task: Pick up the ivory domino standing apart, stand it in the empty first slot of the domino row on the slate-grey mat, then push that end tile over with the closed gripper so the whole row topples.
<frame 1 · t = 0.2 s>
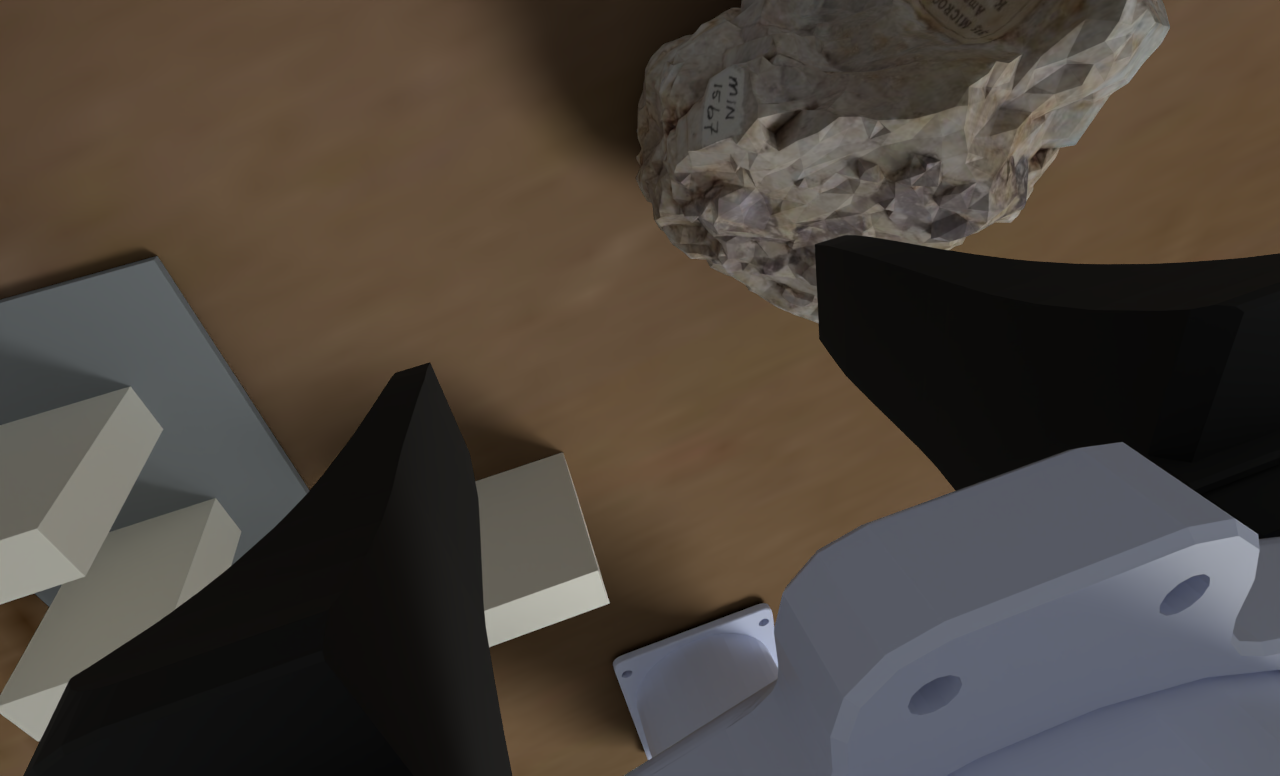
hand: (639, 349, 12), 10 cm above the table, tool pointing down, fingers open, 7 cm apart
domino 3: (166, 535, 22), resting on mat
rock: (756, 85, 21), on the table
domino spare: (517, 485, 26), on the table
domino 4: (76, 429, 20), resting on mat
mat: (240, 612, 25), on the table
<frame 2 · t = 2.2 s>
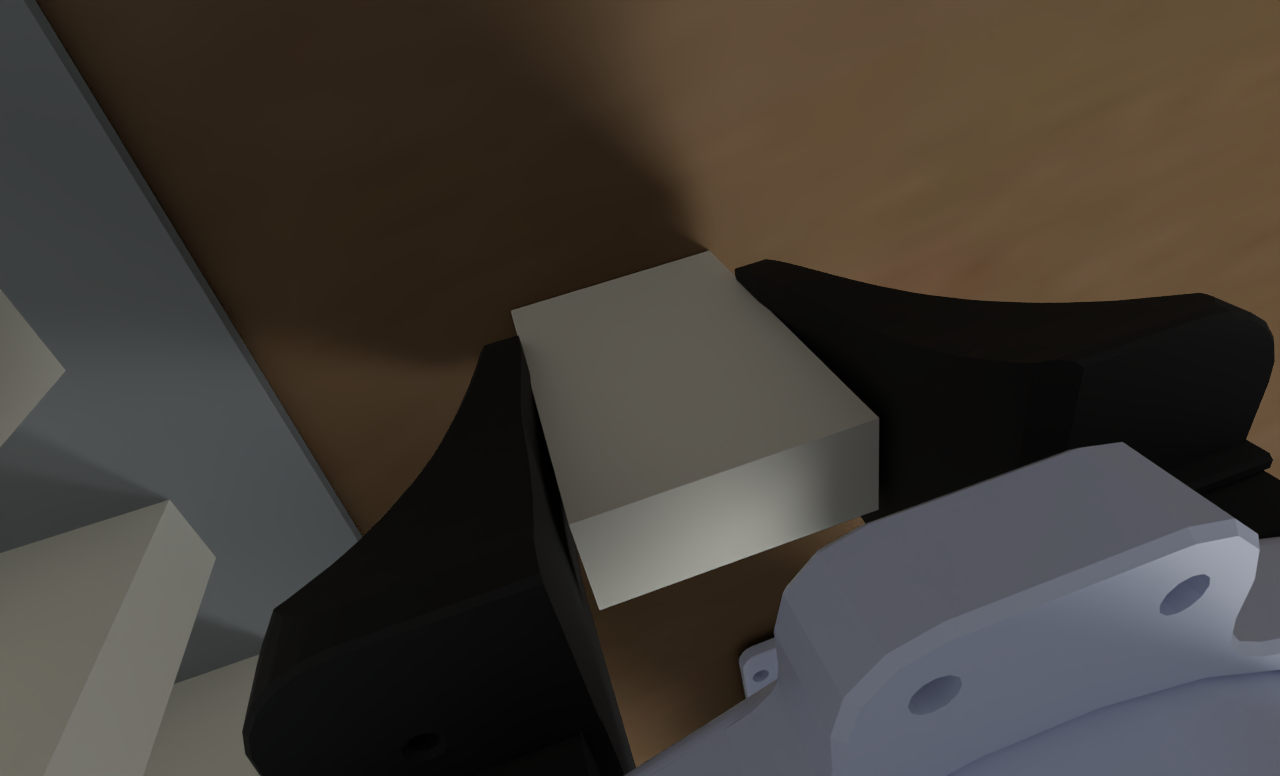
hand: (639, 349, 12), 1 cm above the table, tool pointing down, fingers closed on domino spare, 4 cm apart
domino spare: (620, 316, 14), on the table, touching gripper
domino 2: (84, 564, 13), resting on mat
domino 1: (213, 697, 15), resting on mat
mat: (90, 553, 13), on the table
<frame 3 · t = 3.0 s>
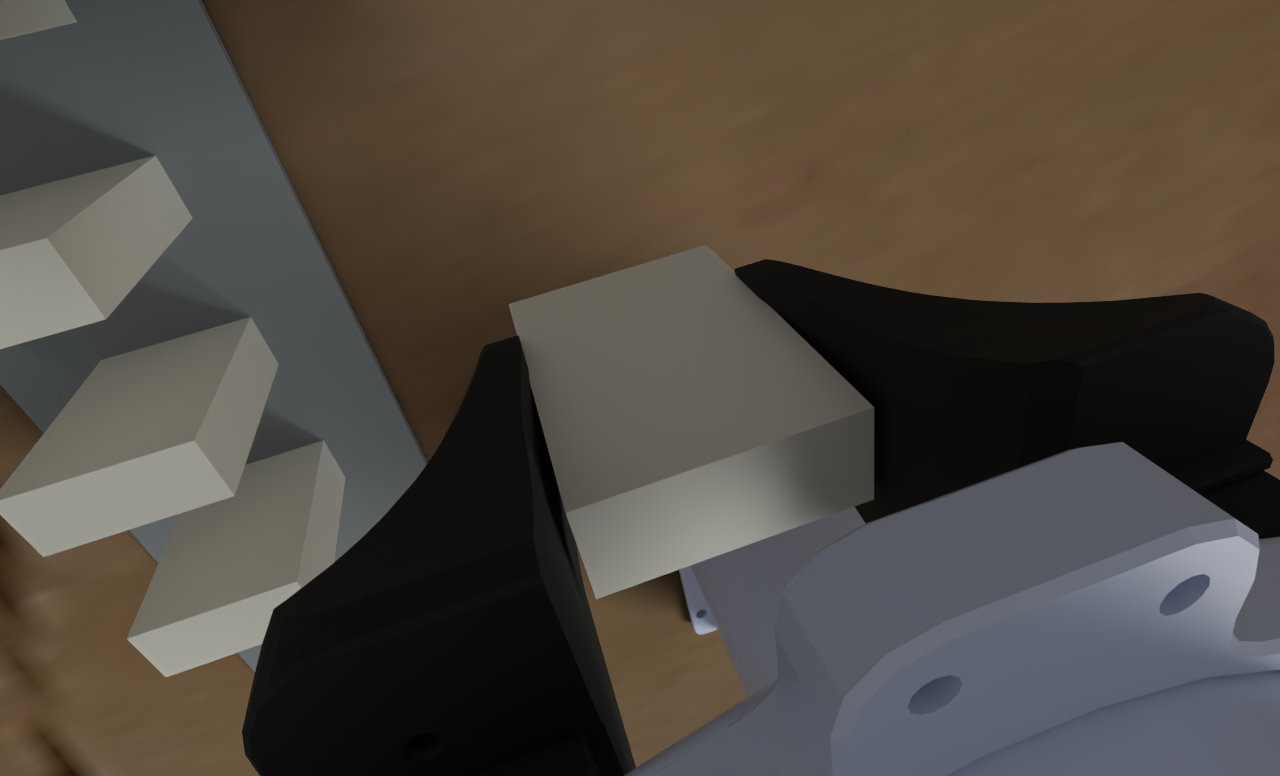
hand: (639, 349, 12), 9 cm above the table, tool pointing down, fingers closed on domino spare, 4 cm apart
domino 3: (90, 209, 17), resting on mat
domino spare: (617, 310, 14), point 8 cm above the table, touching gripper
domino 2: (193, 362, 19), resting on mat
domino 1: (271, 479, 22), resting on mat
mat: (195, 357, 20), on the table
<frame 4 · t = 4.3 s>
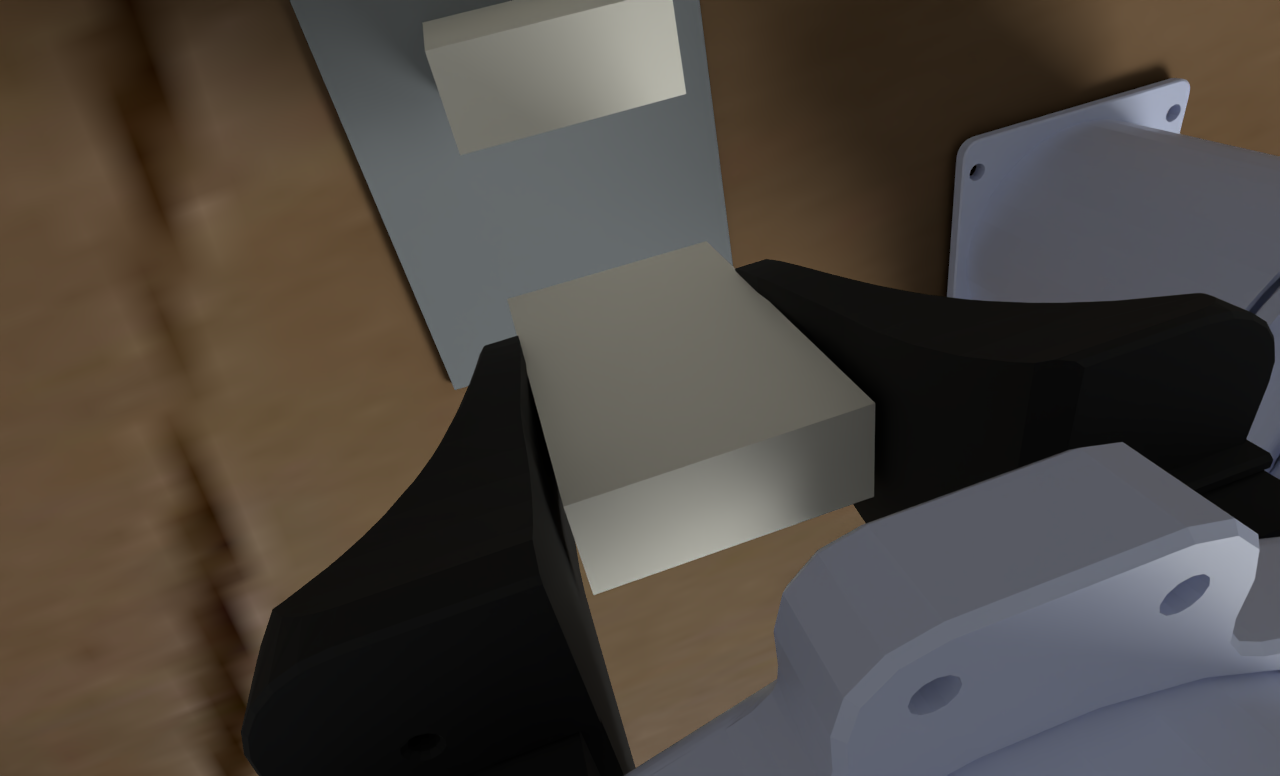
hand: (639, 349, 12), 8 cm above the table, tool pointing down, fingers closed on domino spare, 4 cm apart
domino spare: (617, 306, 14), point 6 cm above the table, touching gripper
domino 1: (518, 39, 16), resting on mat
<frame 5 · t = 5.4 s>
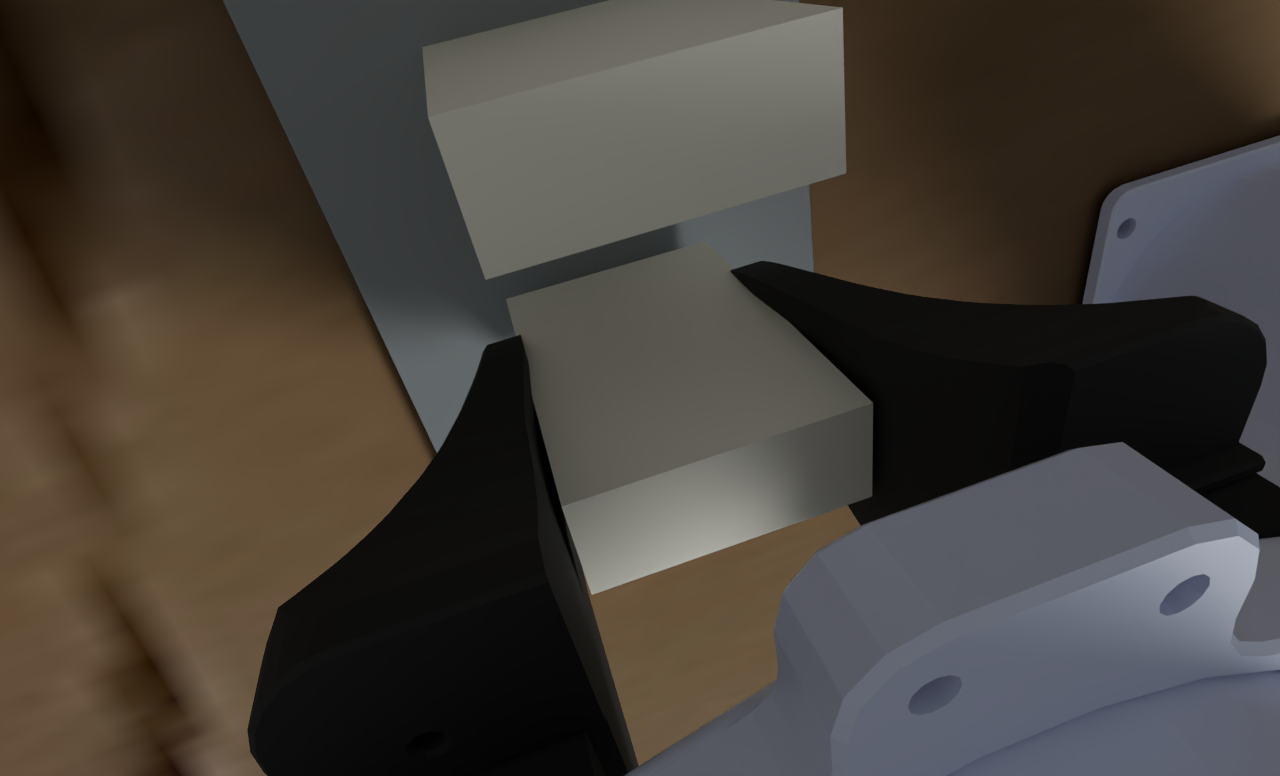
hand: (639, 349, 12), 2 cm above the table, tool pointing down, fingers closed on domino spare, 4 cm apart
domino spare: (615, 306, 14), point 1 cm above the table, touching gripper
domino 1: (555, 69, 12), resting on mat
when the fingers open (2 cm above the table, at t = 5.6 s): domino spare stays where it is, resting on mat.
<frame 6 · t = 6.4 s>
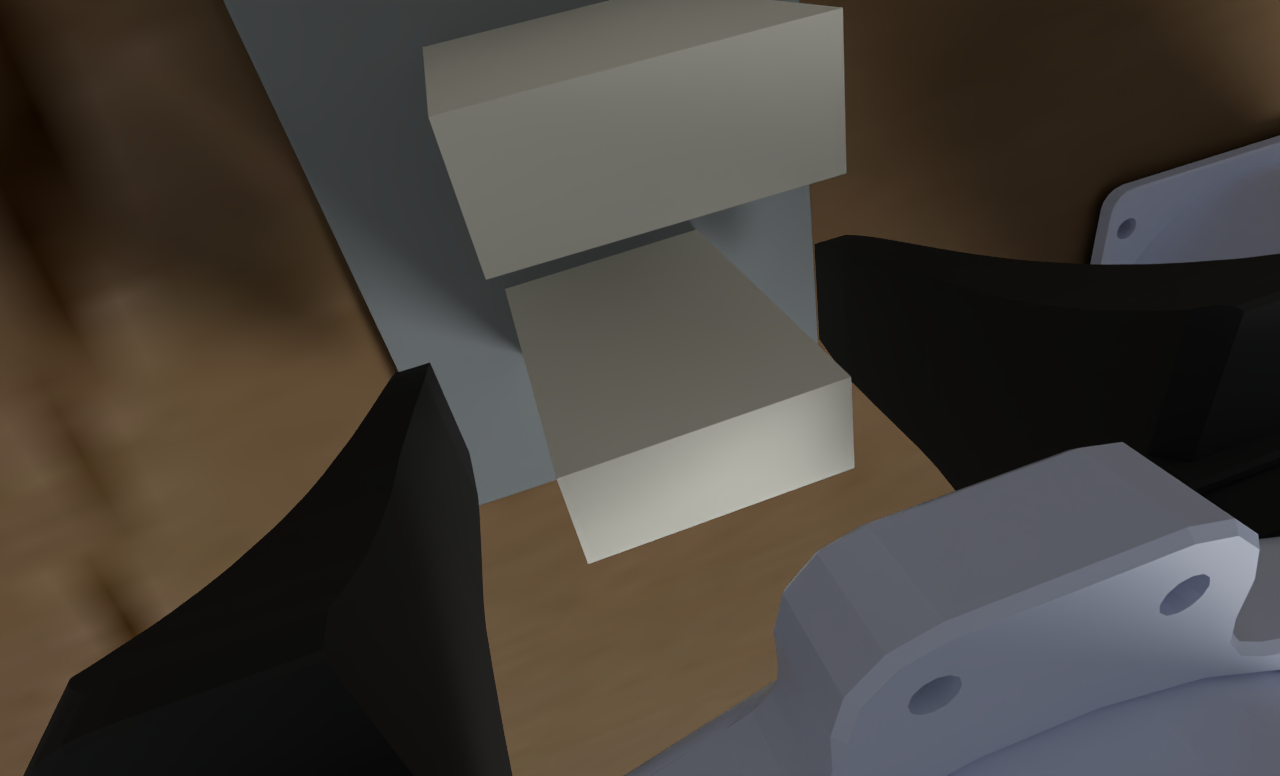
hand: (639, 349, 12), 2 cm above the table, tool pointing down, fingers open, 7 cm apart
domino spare: (611, 294, 14), resting on mat
domino 1: (556, 69, 12), resting on mat
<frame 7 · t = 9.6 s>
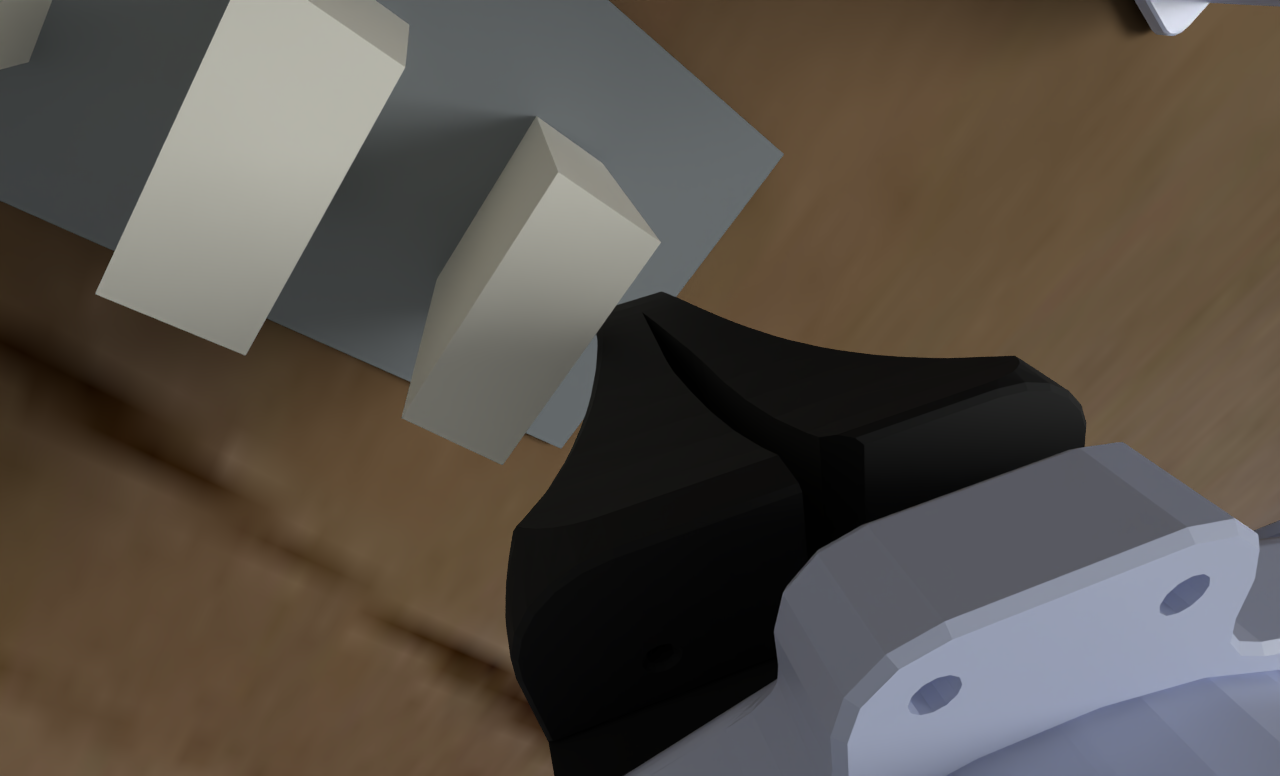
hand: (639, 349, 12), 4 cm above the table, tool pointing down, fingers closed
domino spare: (518, 222, 15), resting on mat, tilted 7°
domino 1: (313, 95, 12), resting on mat
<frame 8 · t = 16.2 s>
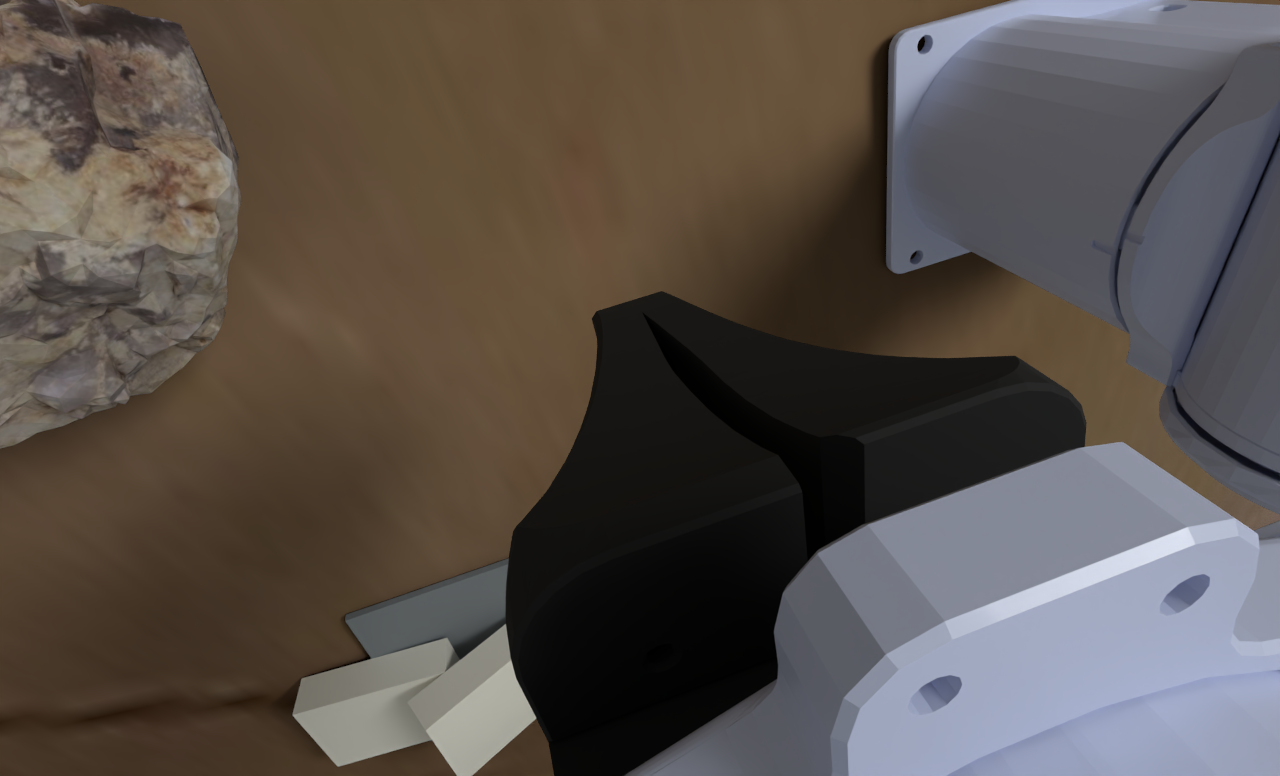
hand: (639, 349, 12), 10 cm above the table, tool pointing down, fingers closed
domino 3: (558, 640, 29), point 1 cm above the table, tilted 64°, touching domino 2, domino 4, mat
rock: (43, 169, 17), on the table
domino 4: (462, 682, 28), point 1 cm above the table, tilted 95°, touching domino 3, mat
mat: (678, 576, 31), on the table
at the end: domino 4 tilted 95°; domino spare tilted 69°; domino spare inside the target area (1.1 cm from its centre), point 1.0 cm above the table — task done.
